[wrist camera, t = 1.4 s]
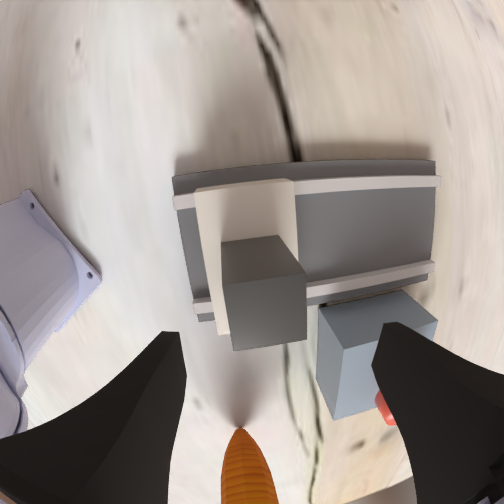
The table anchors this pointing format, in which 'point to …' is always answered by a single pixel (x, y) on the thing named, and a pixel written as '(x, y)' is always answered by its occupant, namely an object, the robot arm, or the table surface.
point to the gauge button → (384, 409)
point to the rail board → (334, 224)
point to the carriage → (253, 262)
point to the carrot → (246, 473)
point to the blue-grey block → (360, 347)
